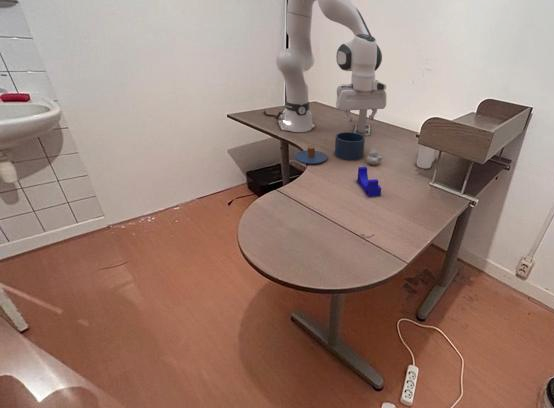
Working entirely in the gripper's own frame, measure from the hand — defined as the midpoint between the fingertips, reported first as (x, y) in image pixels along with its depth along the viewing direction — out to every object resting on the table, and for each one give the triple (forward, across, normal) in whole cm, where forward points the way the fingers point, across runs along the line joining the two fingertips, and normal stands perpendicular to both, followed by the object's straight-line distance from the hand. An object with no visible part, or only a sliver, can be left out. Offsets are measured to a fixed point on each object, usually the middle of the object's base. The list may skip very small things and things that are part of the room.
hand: (360, 120), depth 119 cm
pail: (+18, 0, +10) cm, 21 cm away
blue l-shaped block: (+19, -6, -22) cm, 29 cm away
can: (+19, +27, -10) cm, 35 cm away
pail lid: (+18, -18, +9) cm, 27 cm away
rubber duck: (+19, +6, -3) cm, 20 cm away
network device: (+18, +21, +41) cm, 50 cm away
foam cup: (+19, +34, -4) cm, 39 cm away
